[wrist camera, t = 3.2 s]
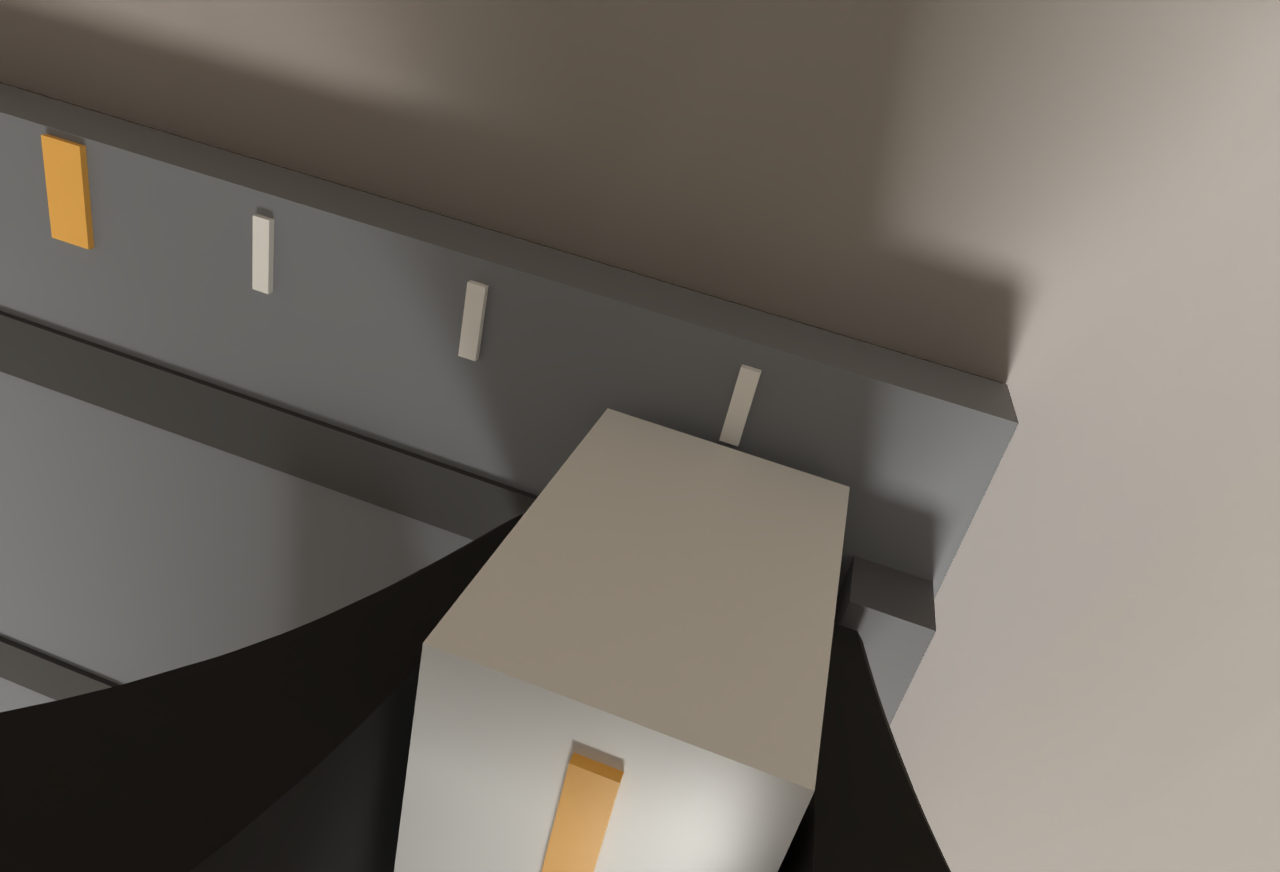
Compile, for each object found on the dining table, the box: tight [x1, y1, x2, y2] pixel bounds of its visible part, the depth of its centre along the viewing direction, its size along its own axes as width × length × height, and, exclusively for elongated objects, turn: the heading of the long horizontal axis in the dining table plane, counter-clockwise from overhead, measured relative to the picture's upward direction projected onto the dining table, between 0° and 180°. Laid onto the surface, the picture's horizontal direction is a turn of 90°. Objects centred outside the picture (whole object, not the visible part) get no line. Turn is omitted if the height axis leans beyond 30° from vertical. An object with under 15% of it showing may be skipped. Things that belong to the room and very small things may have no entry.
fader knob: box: [394, 408, 850, 872], centre depth 9 cm, size 5×3×5 cm, turn 167°
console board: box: [0, 83, 1018, 725], centre depth 14 cm, size 14×20×2 cm
